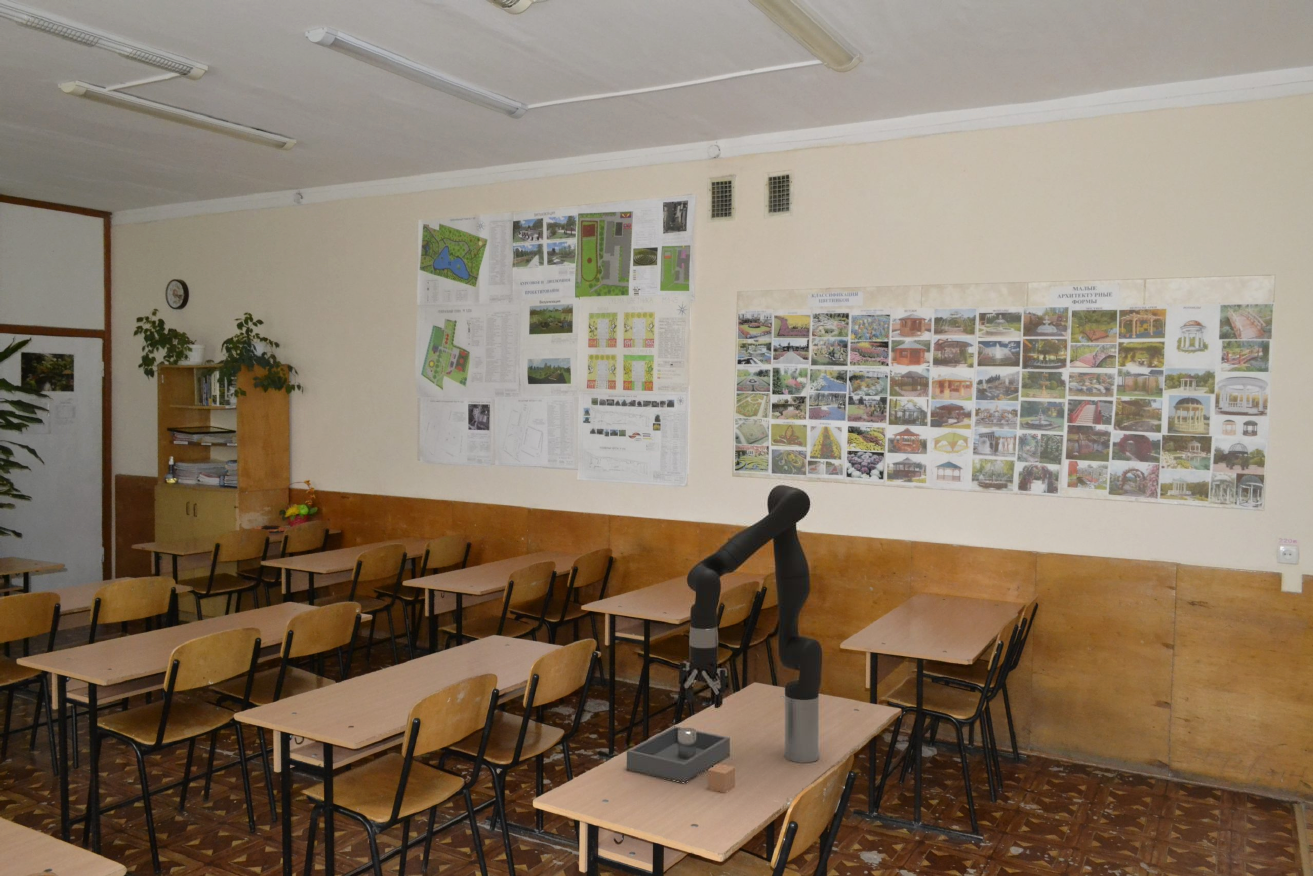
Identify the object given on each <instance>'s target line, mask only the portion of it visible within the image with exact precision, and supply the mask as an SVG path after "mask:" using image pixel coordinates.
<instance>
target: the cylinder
mask: <svg viewBox="0 0 1313 876" xmlns="http://www.w3.org/2000/svg"><path fill="white" fill-rule="evenodd" d="M696 731H697V730H696V729H695V728H693V727H681V729H679V730H678V757H679V758H681V759H690V758H692V757H694V756H695V755H696Z"/></svg>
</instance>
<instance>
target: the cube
mask: <svg viewBox="0 0 1313 876" xmlns="http://www.w3.org/2000/svg"><path fill="white" fill-rule="evenodd" d="M735 773H736V767H735V766H731V765H725V764H722V763H717V764H716V765H714V766H713V767H711V768H709V769H708V770H707V790H710V789H713V790H712V791H714V790H716V791H715V792H718V791H720V792H719V793H722V792H724V793H723V794H727V793H728V792H729V791H731V790H732V789H733V788H735V787H736V774H735ZM730 789H731V790H730ZM727 791H728V792H727Z"/></svg>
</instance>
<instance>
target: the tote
mask: <svg viewBox="0 0 1313 876" xmlns="http://www.w3.org/2000/svg"><path fill="white" fill-rule="evenodd" d="M681 728H682V727H680V726H675V725H674V726H672V727H669V728H668V729H666V730H664V731H662V732H661V733H658V734H656V735H655V736H653V737H651V738H649V739H647V740H645V741H643V742H641V743H640V744H637V745H636V746H634V747H632V748H630V749H628V750H626V770H627V769H629V770H628V771H630V770H633V771H632V772H634V771H637V772H636V773H638V772H641V773H640V774H642V773H645V774H644V775H646V774H650V775H653V776H652V777H654V776H656V777H655V778H658V777H660V778H659V779H662V778H665V779H664V780H666V779H670V780H675V781H679V782H684V783H686V782H687V781H689V780H690V781H692V780H693V779H692V778H694V777H695V778H697V777H698V776H699V775H698V774H700V773H701V774H703V773H705V772H706V771H708V770H707V769H710V768H711V767H712V766H714V765H716V764H720V763H721V762H723V761H724V760H725V759H727V758H729V757H730V756H731V753H730V752H731V737H728V736H724V735H719V734H714V733H710V732H709V733H708V732H705V731H699V730H696V755H695V756H694V757H692V758H690V759H681V758H679V757H678V730H679V729H681ZM705 770H706V771H705ZM704 771H705V772H704ZM702 772H703V773H702ZM701 774H700V775H701ZM650 775H649V776H650ZM697 775H698V776H697ZM696 776H697V777H696ZM695 778H694V779H695ZM691 779H692V780H691ZM670 780H669V781H670ZM690 781H689V782H690ZM679 782H678V783H679ZM687 783H688V782H687ZM687 783H686V784H687Z"/></svg>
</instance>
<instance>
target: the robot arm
mask: <svg viewBox="0 0 1313 876" xmlns="http://www.w3.org/2000/svg"><path fill="white" fill-rule="evenodd" d="M766 501H767V503H766V504H767V512H768V514H767V515H765V516H764V517H763V518H762V519H760V520H759V521H757V522H756V523H753V524H752V525H750V526H749V527H746V528H745V529H743V530H740V531H739V532H738V533H736V534H735V535H733V536H732V537H731V538H729V539H728V540H727V541H726V542H724V544H723V545H722V546H720V548H718V549H717V550H716V552H714V553H712V554H711V555H709V556H707V557H705V558H704V559H702V560H700V561H699V562H697V563H696V564H695V565H694V566H692V568H691V569H690V571H689V572H688V574H687V576H686V582H687V583H686V584H687V586H688V588H690V590H692V591H694V592H695V597H694V598H695V599H694V604H692V605H691V607H690V614H689V615H690V619H689V620H690V621H689V622H690V625H689V626H690V627H689V636H688V637H689V638H688V639H689V640H688V641H689V650H688V651H689V653H688V654H689V661H690V662H688V660H684V661H682V662H680V663H679V666H678V669H679V670H678V671H679V672H678V685H679V686H683V687H684V688H685V700H686V703H689V704H690V703H693V702H694V701H695V700H694V697H695V696H694V694H695V693H694V692H695V691H694V690H695V689H694V687H695V686H694V685H695V683H696V682H697V683H701V682H702V683H703V684H708V685H709V687H710V688H712V690H713V692H714V698H713V700H714V706H713V707H714V709H719V708H721V706H723V698H724V697H723V694H725V693H727V692H728V691H730V676H729V675H730V674H729V672H730V671H729V669H728V667H725V668H720V667H719V666H718V661H719V632H718V607H719V603H720V597H721V592H722V591H721V589H722V582H721V577H723V576H724V575H726V574H731V573H733V572H735V571H736V570H737V569H739V568H740V567H741V566H742V565H743V564H744V563H746V561H747V560H749V559H750V558H751V556H753V555H754V554H755V553H756V552H758V550H760V549H761V548H762V547H764V546H765V545H767V544H768V543H769V542H770V541H771V540H772V543H773V558H774V568H775V569H774V570H775V572H774V573H775V586H776V594H777V595H776V597H777V608H778V609H777V610H778V639H777V640H778V642H777V644H778V645H777V646H778V648H777V649H778V651H777V652H778V658H779V661H780V663H781V664H782V666H783V667H784V668H787V669H790V670H795V671H798V672H799V675H798V679H796V680H792V681H789V682H787V683H786V684H785V686H784V758H785V759H786V760H788V761H790V762H794V763H799V764H800V763H801V764H806V763H807V764H809V763H813V762H815V761H818V760H819V755H820V754H819V749H820V748H819V747H820V745H819V739H820V738H819V735H820V734H819V733H820V728H819V726H820V725H819V724H820V722H819V721H820V720H819V719H820V717H819V716H820V714H819V709H820V708H819V706H820V705H819V704H820V698H819V697H820V695H819V693H820V687H821V686H822V685H821V683H822V671H823V669H822V668H823V648H822V645H821V644H820V641H818V640H817V639H816V638H815V639H814V638H811V637H807V636H806V637H805V636H800V634H799V616H800V613H801V611H802V609H803V607H804V605H805V604H806V602H807V600H808V598H809V596H810V592H811V579H810V577H811V576H810V569H809V563H808V562H809V561H808V559H807V557H806V554H805V552H804V549H803V547H802V545H801V542H800V539H799V535H798V529H797V523H799V522H800V521H801V520H803V519H804V518H806V516H807V515H808V513H809V511H810V509H811V498H810V496H809V495H808V493H807V492H806V491H804V490H803V489H800V488H798V487H793V486H790V485H785V484H780V485H776V486H774V487H773V488H772V489H771V490H770V492H769V494H768V497H767V500H766ZM689 671H690V672H691V674H690V675H689ZM688 676H689V677H688ZM693 686H694V687H693Z"/></svg>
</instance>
